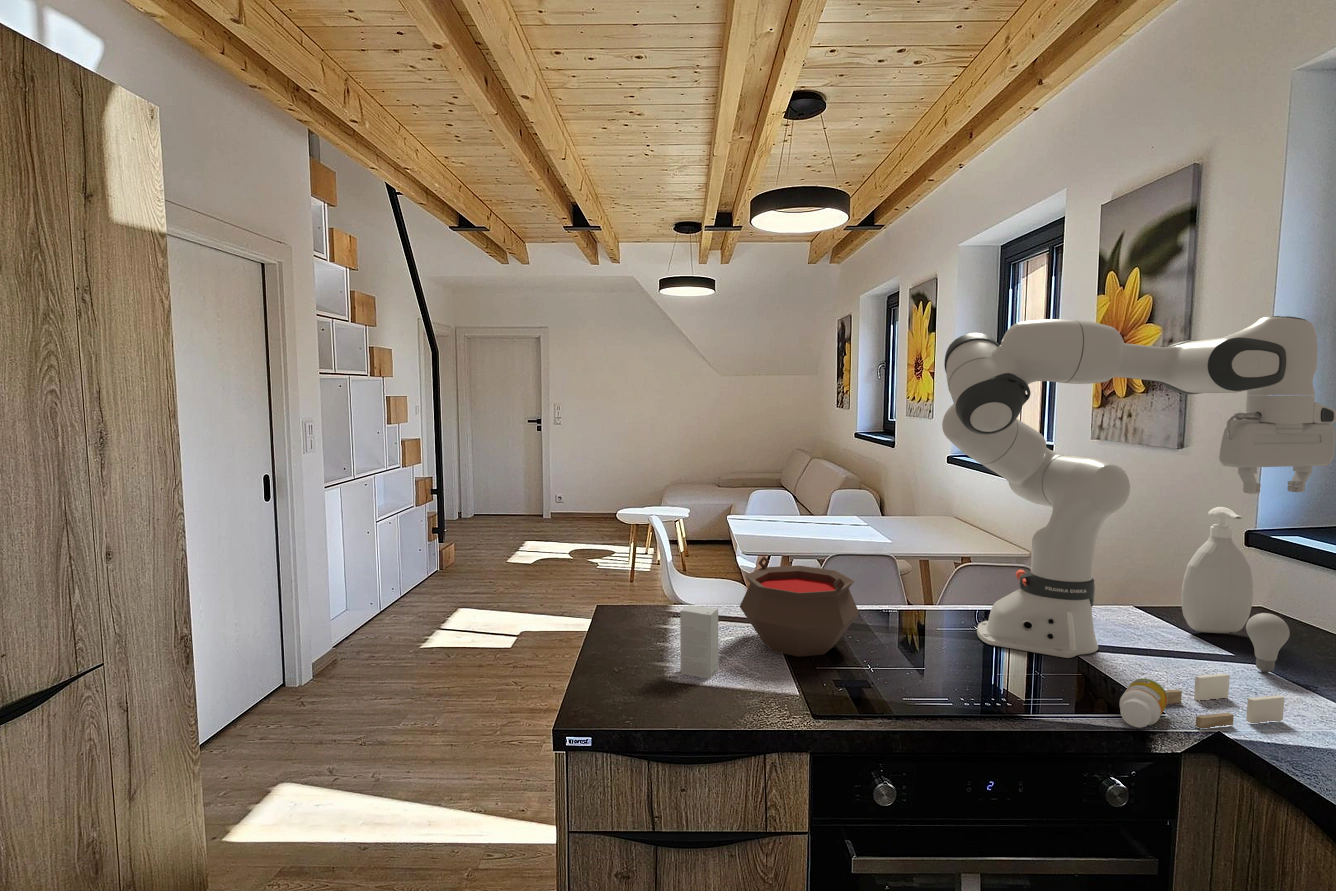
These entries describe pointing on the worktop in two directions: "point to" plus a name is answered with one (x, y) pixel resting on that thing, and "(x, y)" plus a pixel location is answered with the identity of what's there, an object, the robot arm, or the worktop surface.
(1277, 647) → the lightbulb
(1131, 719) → the supplement bottle
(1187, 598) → the soap bottle
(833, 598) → the brown pot
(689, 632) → the skincare box
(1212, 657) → the worktop surface
